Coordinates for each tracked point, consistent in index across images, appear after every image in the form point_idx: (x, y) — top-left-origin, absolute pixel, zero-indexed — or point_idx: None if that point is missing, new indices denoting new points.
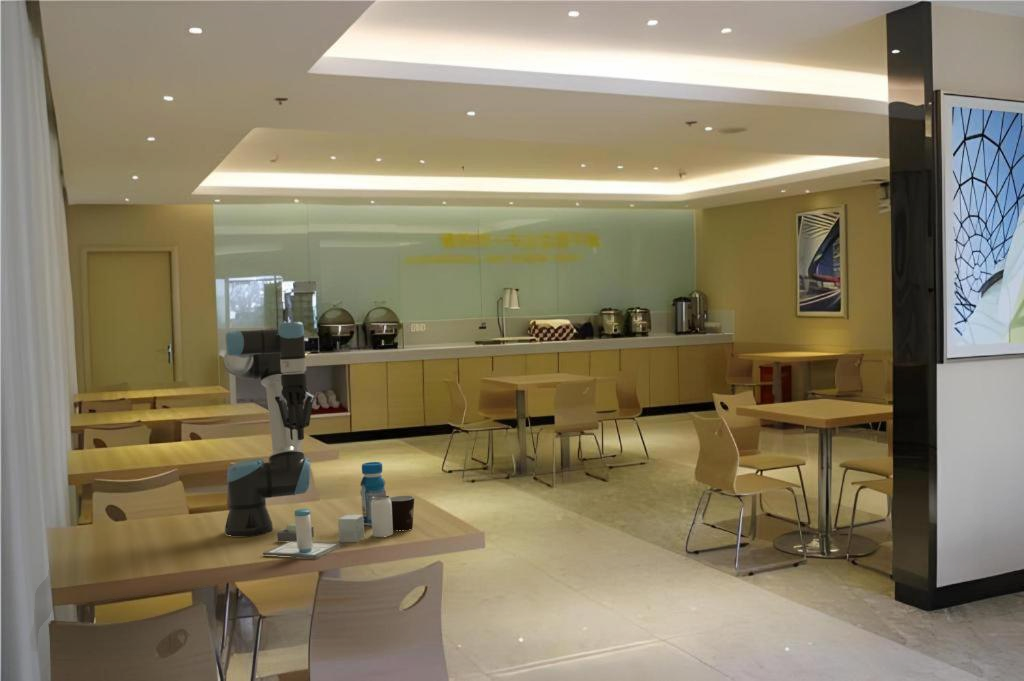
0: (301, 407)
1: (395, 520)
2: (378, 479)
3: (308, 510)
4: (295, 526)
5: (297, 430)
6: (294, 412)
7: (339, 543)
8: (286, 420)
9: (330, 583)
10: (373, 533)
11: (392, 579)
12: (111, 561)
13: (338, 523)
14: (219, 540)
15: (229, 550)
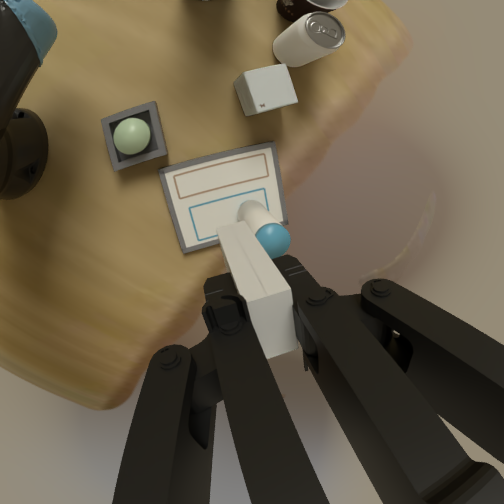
0: (449, 467)
1: None
2: None
3: (285, 233)
4: (143, 145)
5: (295, 333)
6: (311, 475)
7: (273, 144)
8: (210, 439)
9: None
10: (286, 64)
11: (414, 243)
12: (32, 352)
13: (255, 113)
14: (22, 220)
15: (93, 253)
